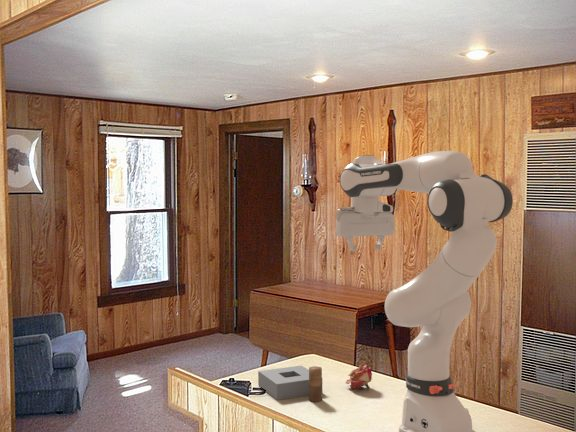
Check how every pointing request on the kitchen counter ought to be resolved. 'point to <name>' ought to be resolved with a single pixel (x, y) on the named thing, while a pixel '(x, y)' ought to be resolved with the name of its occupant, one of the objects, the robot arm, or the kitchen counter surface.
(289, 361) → the kitchen counter surface
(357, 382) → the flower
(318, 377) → the peg
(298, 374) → the socket block
